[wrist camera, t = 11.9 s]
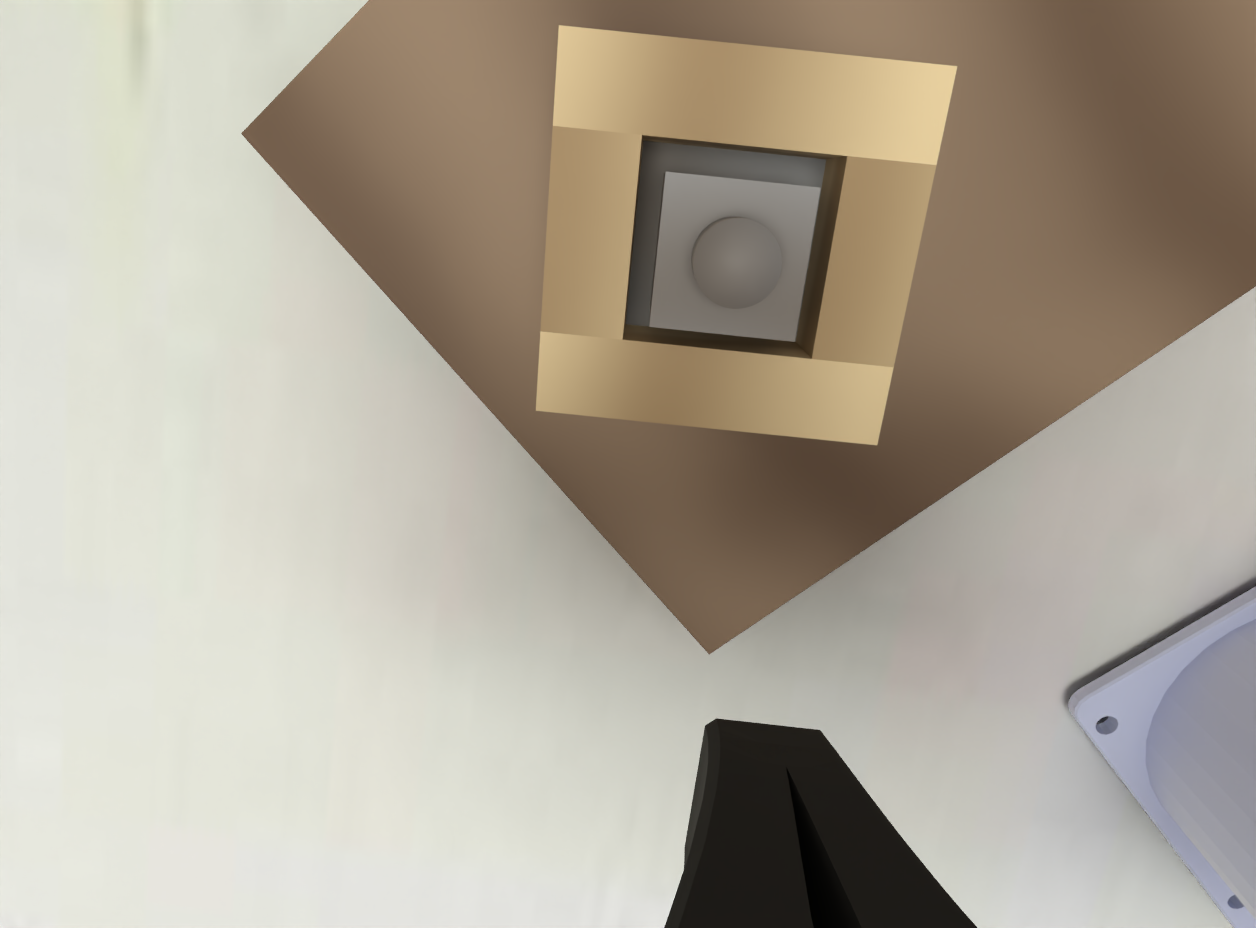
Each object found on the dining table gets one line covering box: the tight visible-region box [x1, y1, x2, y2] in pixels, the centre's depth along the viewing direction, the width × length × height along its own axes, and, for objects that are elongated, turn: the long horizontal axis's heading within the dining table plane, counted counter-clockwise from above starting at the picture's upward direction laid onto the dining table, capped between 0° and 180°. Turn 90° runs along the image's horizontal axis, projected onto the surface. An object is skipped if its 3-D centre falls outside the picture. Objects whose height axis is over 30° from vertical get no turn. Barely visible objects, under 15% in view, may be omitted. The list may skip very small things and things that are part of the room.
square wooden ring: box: [536, 25, 957, 445], centre depth 13 cm, size 6×6×2 cm
